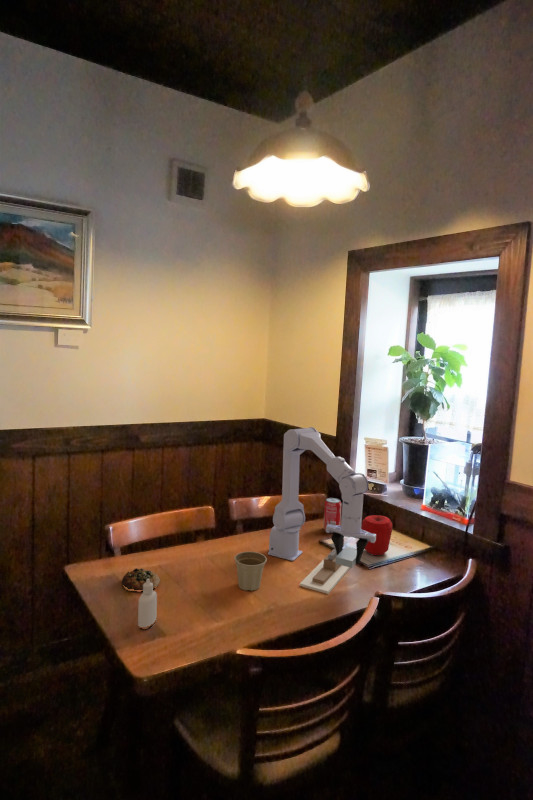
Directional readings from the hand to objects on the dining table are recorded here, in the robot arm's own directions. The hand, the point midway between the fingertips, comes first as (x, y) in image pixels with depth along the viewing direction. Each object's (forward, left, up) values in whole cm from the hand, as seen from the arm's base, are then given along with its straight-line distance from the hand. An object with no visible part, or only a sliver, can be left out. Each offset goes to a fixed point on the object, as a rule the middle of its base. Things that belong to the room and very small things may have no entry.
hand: (348, 560), depth 155 cm
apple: (0, +30, -9) cm, 31 cm away
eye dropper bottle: (-37, -45, -9) cm, 59 cm away
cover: (0, 0, 0) cm, 0 cm away
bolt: (-8, +11, -4) cm, 15 cm away
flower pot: (-25, -14, -9) cm, 30 cm away
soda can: (-20, +41, -9) cm, 46 cm away
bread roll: (-52, -29, -9) cm, 61 cm away
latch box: (-8, +6, -9) cm, 13 cm away
